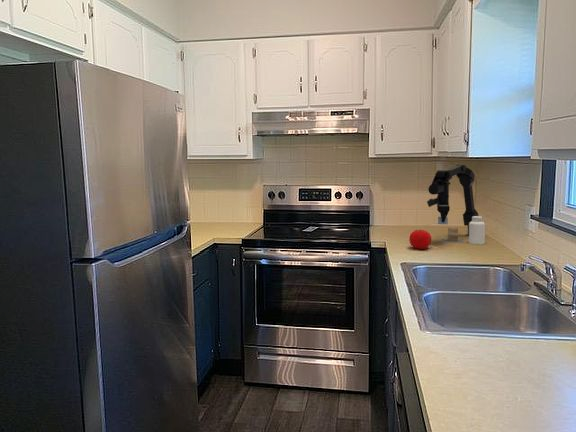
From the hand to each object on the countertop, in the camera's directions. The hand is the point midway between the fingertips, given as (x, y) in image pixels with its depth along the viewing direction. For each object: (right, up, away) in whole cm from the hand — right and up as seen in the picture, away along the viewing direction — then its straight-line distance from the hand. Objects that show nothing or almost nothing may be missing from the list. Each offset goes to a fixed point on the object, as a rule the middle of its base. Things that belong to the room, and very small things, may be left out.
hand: (442, 221), depth 255 cm
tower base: (+8, -11, +7) cm, 15 cm away
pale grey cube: (0, -1, 0) cm, 1 cm away
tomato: (-15, -14, -10) cm, 23 cm away
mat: (+7, -11, +7) cm, 15 cm away
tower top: (+8, -7, +7) cm, 13 cm away
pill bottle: (+18, -12, -2) cm, 22 cm away
